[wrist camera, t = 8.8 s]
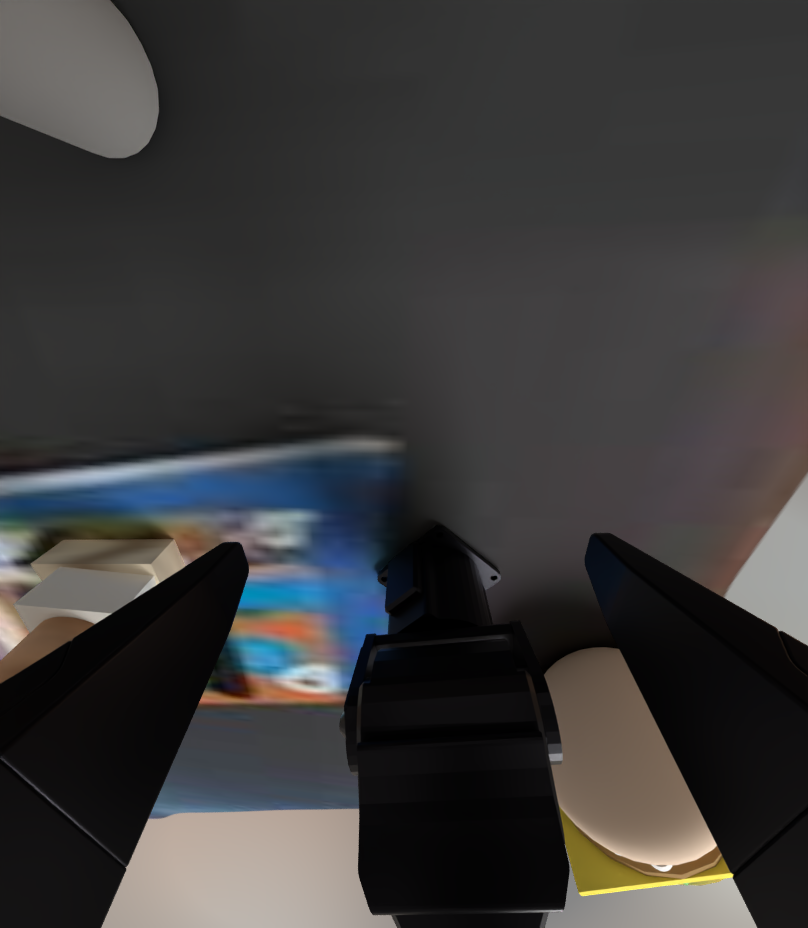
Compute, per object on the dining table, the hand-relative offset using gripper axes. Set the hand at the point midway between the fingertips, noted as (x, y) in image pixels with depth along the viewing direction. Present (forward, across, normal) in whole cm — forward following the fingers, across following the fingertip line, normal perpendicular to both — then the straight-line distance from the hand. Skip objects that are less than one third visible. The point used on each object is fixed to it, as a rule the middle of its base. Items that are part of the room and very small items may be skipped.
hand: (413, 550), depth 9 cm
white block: (+10, +21, +13) cm, 26 cm away
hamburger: (+12, -14, +24) cm, 30 cm away
